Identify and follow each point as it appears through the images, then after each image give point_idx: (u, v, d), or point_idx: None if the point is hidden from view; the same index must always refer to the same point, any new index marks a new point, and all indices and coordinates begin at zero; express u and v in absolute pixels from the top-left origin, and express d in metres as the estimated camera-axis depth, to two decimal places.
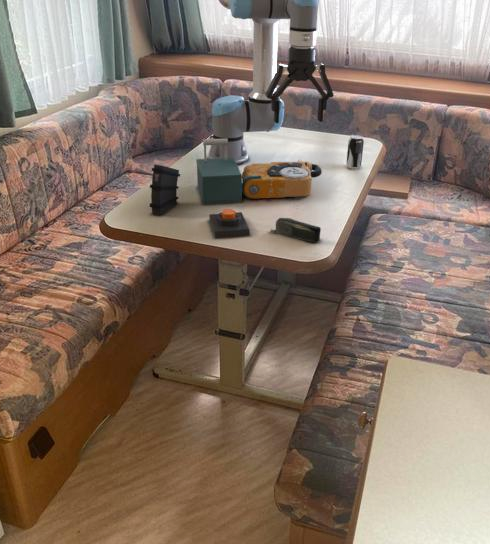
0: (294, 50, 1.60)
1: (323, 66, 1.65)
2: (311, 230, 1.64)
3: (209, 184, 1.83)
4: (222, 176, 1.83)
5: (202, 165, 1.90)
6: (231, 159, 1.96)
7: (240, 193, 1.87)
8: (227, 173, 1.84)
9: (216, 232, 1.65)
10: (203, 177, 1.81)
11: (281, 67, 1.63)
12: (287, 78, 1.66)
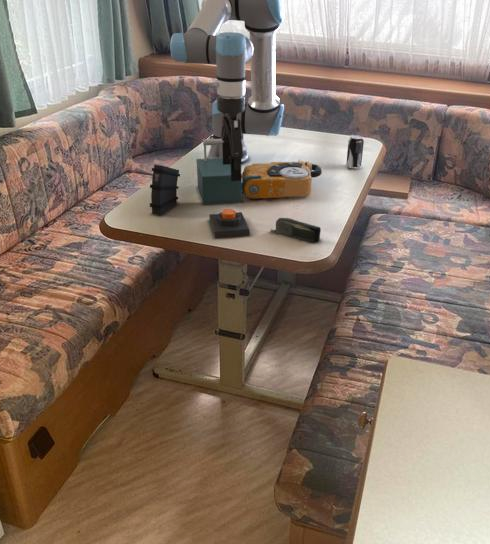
0: None
1: (230, 122, 1.50)
2: (311, 230, 1.64)
3: (209, 184, 1.83)
4: (222, 176, 1.83)
5: (202, 165, 1.90)
6: None
7: (240, 193, 1.87)
8: (227, 173, 1.84)
9: (216, 232, 1.65)
10: (203, 177, 1.81)
11: None
12: None
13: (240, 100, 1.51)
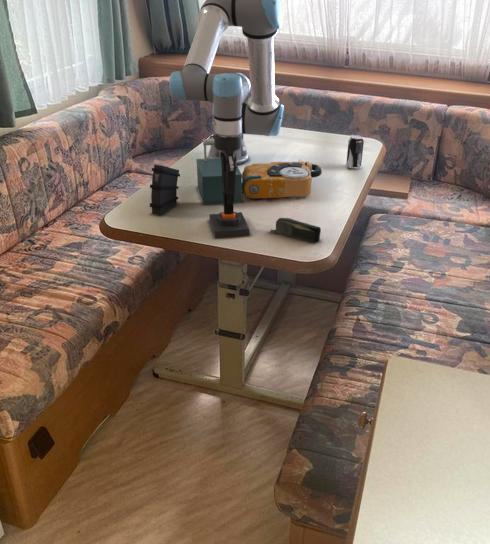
0: None
1: (227, 167, 1.56)
2: (311, 230, 1.64)
3: (209, 184, 1.83)
4: None
5: (202, 165, 1.90)
6: None
7: (240, 193, 1.87)
8: None
9: (216, 232, 1.65)
10: (203, 177, 1.81)
11: None
12: None
13: (236, 138, 1.56)
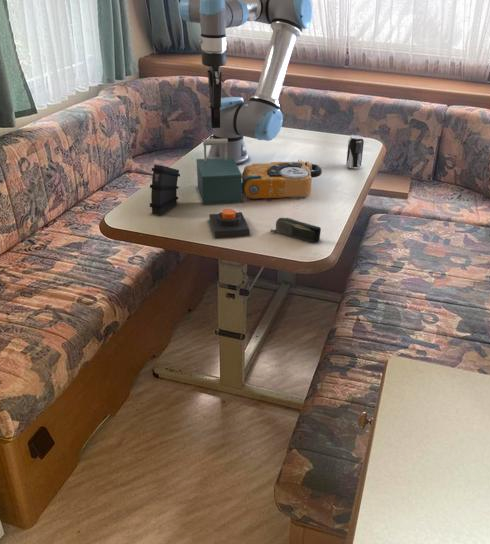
0: None
1: (213, 80, 1.75)
2: (311, 230, 1.64)
3: (209, 184, 1.83)
4: (222, 176, 1.83)
5: (202, 165, 1.90)
6: (231, 159, 1.96)
7: (240, 193, 1.87)
8: (227, 173, 1.84)
9: (216, 232, 1.65)
10: (203, 177, 1.81)
11: None
12: None
13: (221, 54, 1.74)
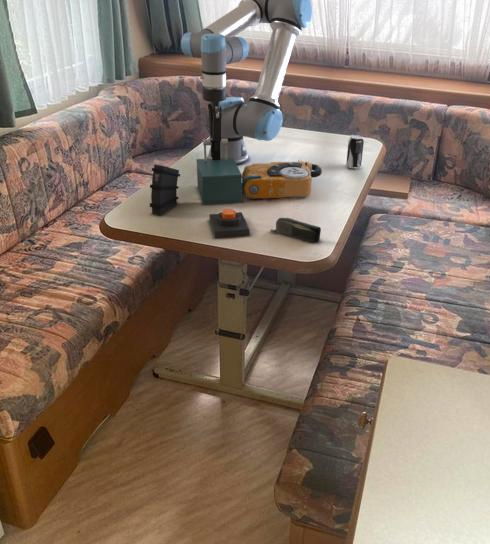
0: None
1: (213, 114, 1.80)
2: (311, 230, 1.64)
3: (209, 184, 1.83)
4: (222, 176, 1.83)
5: (202, 165, 1.90)
6: (231, 159, 1.96)
7: (240, 193, 1.87)
8: (227, 173, 1.84)
9: (216, 232, 1.65)
10: (203, 177, 1.81)
11: (208, 105, 1.90)
12: None
13: (221, 90, 1.80)
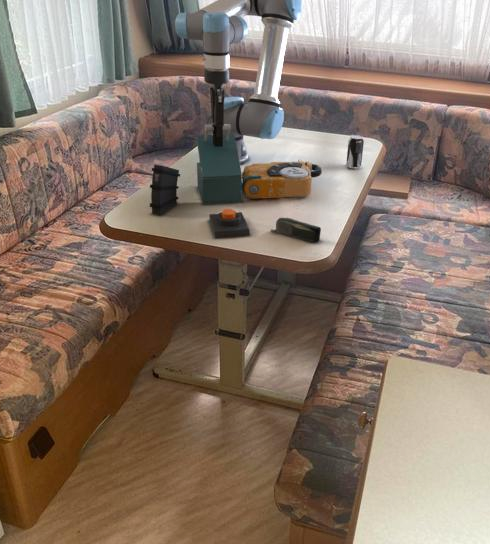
0: None
1: (215, 97, 1.72)
2: (311, 230, 1.64)
3: (209, 184, 1.83)
4: (222, 176, 1.83)
5: (202, 150, 1.85)
6: (232, 138, 1.90)
7: (240, 193, 1.87)
8: (228, 171, 1.83)
9: (216, 232, 1.65)
10: (203, 177, 1.81)
11: (210, 88, 1.81)
12: None
13: (224, 72, 1.71)
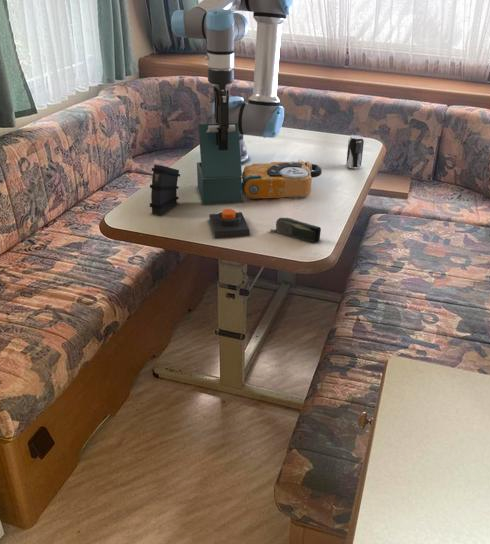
0: None
1: (220, 97, 1.64)
2: (311, 230, 1.64)
3: (209, 184, 1.83)
4: (222, 176, 1.83)
5: (204, 144, 1.80)
6: (235, 129, 1.82)
7: (240, 193, 1.87)
8: (228, 171, 1.83)
9: (216, 232, 1.65)
10: (203, 177, 1.81)
11: (213, 88, 1.74)
12: None
13: (229, 72, 1.64)
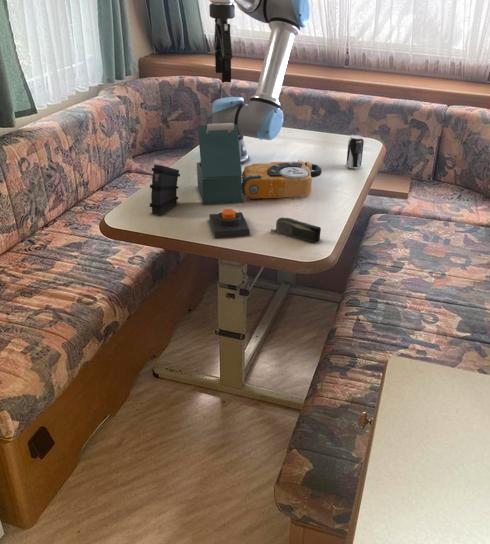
0: None
1: (221, 25, 1.68)
2: (311, 230, 1.64)
3: (209, 184, 1.83)
4: (222, 176, 1.83)
5: (203, 145, 1.81)
6: (234, 130, 1.84)
7: (240, 193, 1.87)
8: (228, 171, 1.83)
9: (216, 232, 1.65)
10: (203, 177, 1.81)
11: (215, 20, 1.79)
12: None
13: (230, 6, 1.69)
